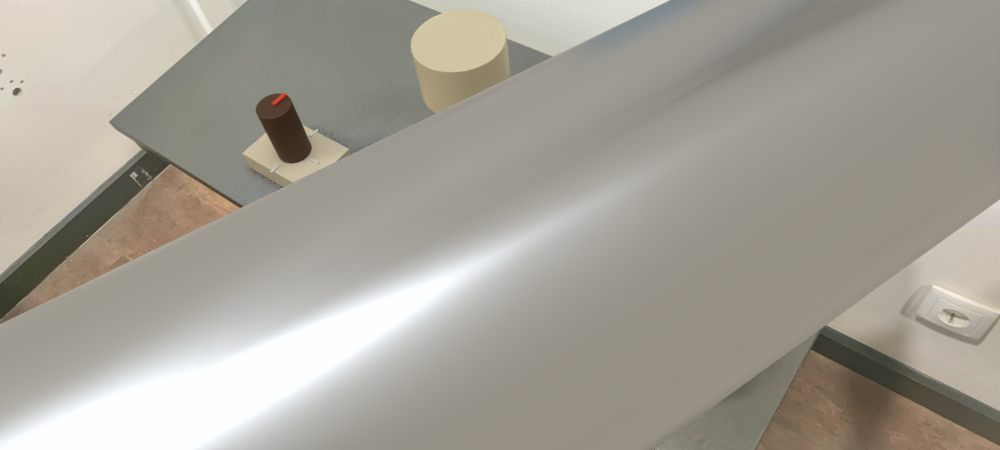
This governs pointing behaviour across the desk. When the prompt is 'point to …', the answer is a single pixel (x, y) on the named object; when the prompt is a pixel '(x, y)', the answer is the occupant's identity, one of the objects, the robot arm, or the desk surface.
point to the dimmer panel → (282, 173)
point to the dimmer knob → (283, 127)
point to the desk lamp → (459, 56)
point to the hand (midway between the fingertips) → (736, 231)
